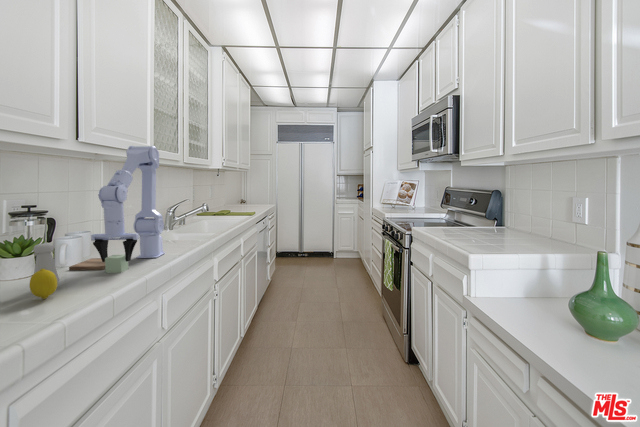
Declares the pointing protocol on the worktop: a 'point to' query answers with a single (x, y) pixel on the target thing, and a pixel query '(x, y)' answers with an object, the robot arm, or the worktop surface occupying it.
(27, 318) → the worktop surface
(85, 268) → the cutting board
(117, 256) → the green cube
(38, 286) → the lemon
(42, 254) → the salt shaker
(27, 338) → the worktop surface
